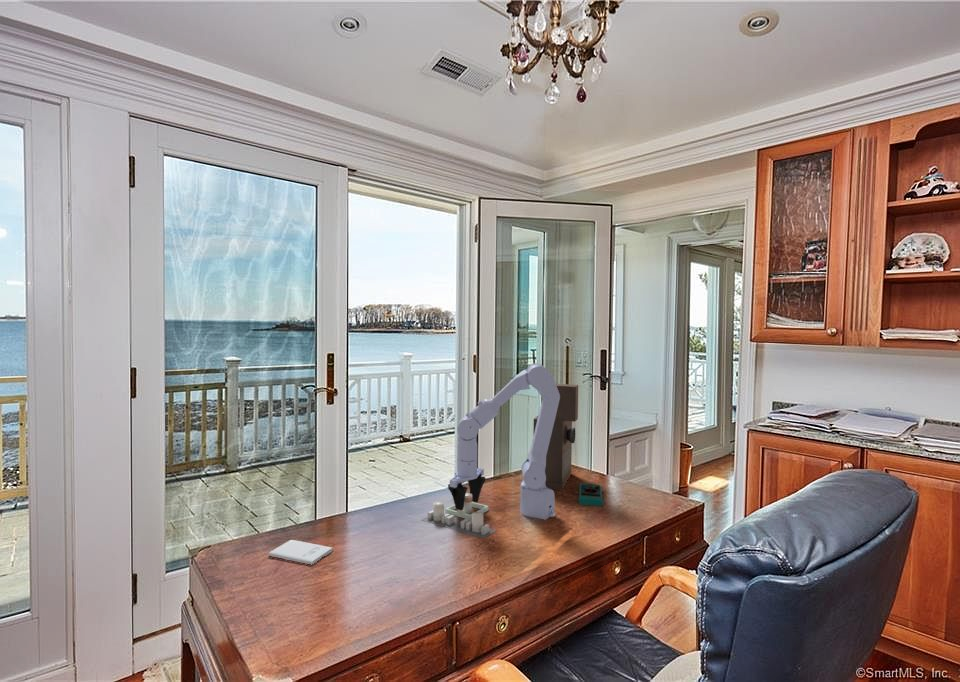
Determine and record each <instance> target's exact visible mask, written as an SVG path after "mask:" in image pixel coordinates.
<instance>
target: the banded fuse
mask: <svg viewBox="0 0 960 682" xmlns="http://www.w3.org/2000/svg"><path fill="white" fill-rule="evenodd" d="M472 502H473V501H472V494H470V492H466V494H465V498H464V508H463V510H461V512H462V513H466V514H472V513H473V507H472Z"/></svg>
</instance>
